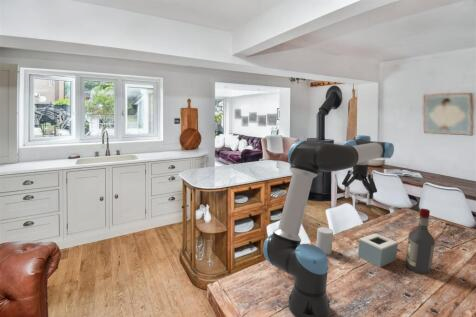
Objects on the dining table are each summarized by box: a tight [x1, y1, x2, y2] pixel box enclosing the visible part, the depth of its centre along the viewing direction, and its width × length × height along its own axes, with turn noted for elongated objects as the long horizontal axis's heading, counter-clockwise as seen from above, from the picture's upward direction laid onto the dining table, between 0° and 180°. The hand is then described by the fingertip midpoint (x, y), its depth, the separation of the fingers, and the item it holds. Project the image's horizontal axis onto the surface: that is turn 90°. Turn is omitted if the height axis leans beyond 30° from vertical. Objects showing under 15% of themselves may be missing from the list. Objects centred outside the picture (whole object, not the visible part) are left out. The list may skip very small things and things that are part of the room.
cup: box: [315, 226, 334, 256], centre depth 143 cm, size 8×8×12 cm
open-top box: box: [357, 232, 399, 268], centre depth 136 cm, size 14×12×10 cm
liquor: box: [405, 208, 436, 275], centre depth 126 cm, size 9×9×30 cm
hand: (357, 200), depth 147 cm, fingers open, 13 cm apart
